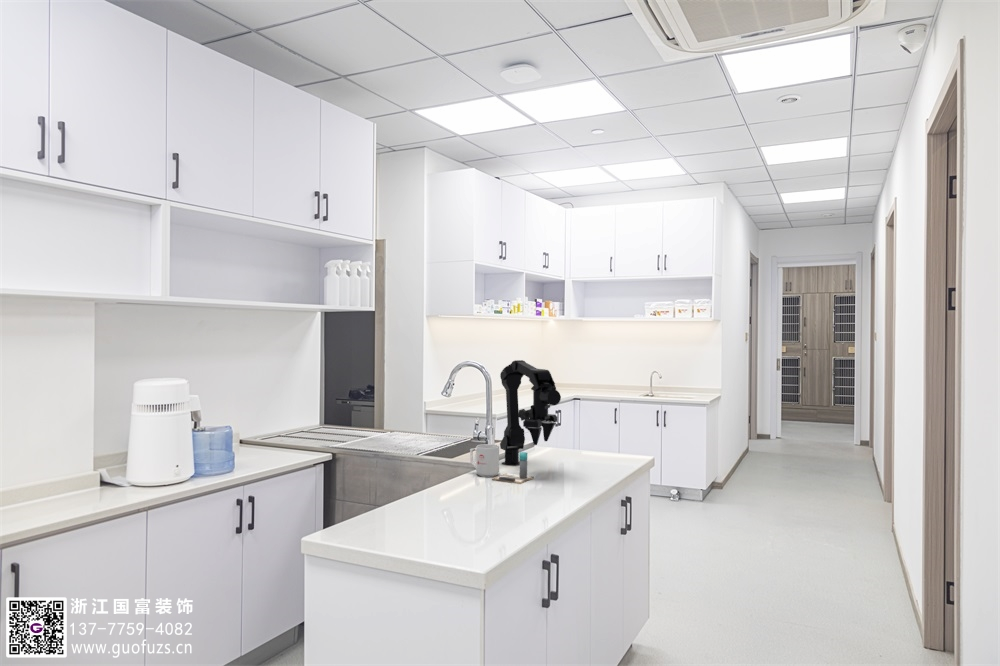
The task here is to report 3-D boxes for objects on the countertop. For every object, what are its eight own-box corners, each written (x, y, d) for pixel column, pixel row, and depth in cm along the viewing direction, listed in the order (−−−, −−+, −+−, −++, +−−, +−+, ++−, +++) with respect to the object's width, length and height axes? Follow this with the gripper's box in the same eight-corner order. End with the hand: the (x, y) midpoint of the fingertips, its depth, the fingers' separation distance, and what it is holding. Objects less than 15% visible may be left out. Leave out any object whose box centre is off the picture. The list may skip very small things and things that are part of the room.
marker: (521, 476, 253) (521, 451, 253) (528, 477, 252) (528, 452, 252) (517, 478, 251) (517, 453, 251) (525, 479, 249) (525, 454, 249)
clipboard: (505, 474, 259) (505, 470, 259) (533, 477, 254) (533, 474, 254) (491, 480, 250) (491, 476, 250) (520, 483, 244) (520, 480, 244)
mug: (503, 473, 261) (503, 445, 261) (492, 478, 253) (492, 449, 253) (476, 470, 266) (476, 442, 266) (464, 475, 258) (464, 446, 258)
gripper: (532, 399, 269) (532, 437, 270) (510, 403, 253) (510, 445, 253) (558, 400, 264) (557, 440, 264) (537, 405, 248) (537, 447, 248)
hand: (540, 443), depth 257 cm, fingers open, 9 cm apart
